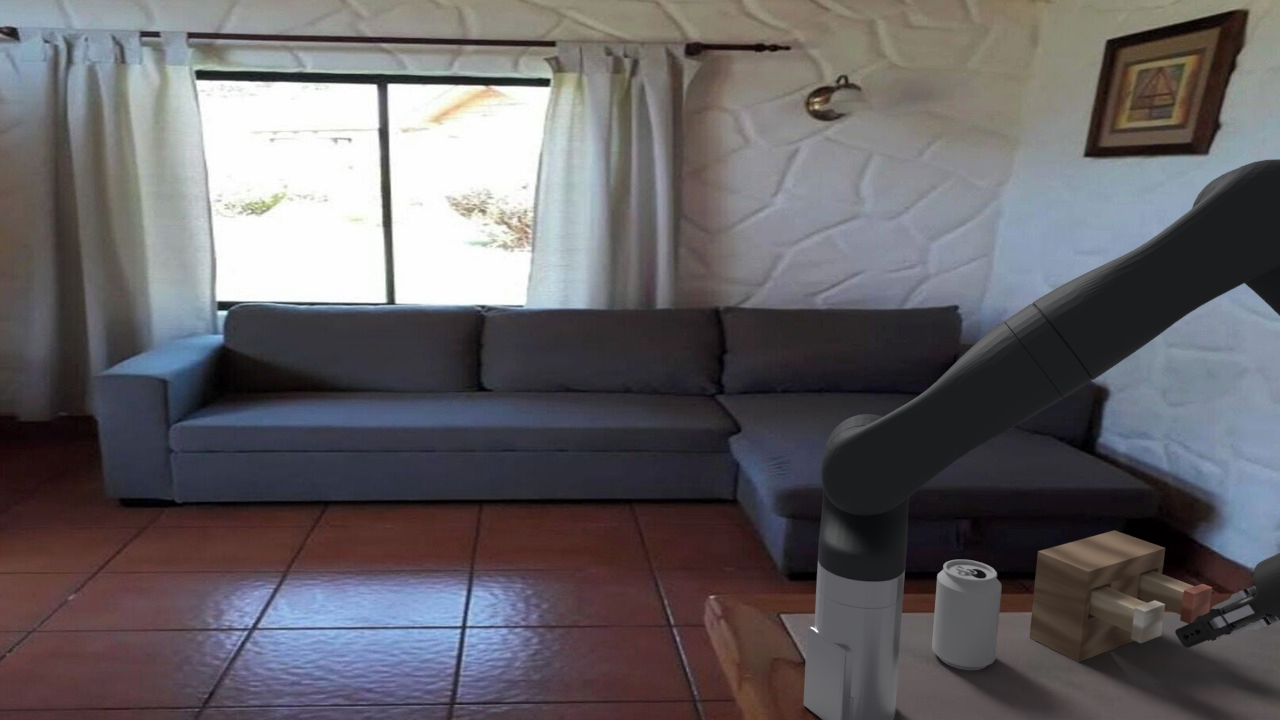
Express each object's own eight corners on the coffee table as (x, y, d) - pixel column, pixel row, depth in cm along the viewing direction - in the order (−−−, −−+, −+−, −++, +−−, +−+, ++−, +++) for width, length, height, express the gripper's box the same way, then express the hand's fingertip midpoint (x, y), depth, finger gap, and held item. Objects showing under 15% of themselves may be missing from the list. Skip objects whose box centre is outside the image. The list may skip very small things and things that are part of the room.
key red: (1189, 624, 106) (1194, 594, 105) (1118, 594, 114) (1121, 566, 113) (1208, 617, 108) (1212, 587, 107) (1136, 588, 116) (1139, 560, 115)
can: (1000, 677, 104) (1008, 583, 102) (935, 670, 106) (942, 577, 103) (988, 646, 111) (996, 558, 109) (927, 640, 113) (934, 553, 111)
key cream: (1140, 643, 101) (1144, 611, 101) (1069, 611, 109) (1072, 581, 109) (1161, 635, 103) (1165, 604, 103) (1089, 604, 111) (1092, 575, 111)
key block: (1078, 662, 108) (1088, 571, 106) (1029, 637, 114) (1037, 551, 112) (1154, 633, 115) (1165, 548, 113) (1105, 611, 121) (1114, 530, 119)
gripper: (1330, 533, 91) (1195, 595, 104) (1262, 556, 85) (1127, 619, 98) (1383, 600, 88) (1236, 656, 100) (1316, 629, 81) (1169, 685, 94)
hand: (1183, 638), depth 99 cm, fingers closed
